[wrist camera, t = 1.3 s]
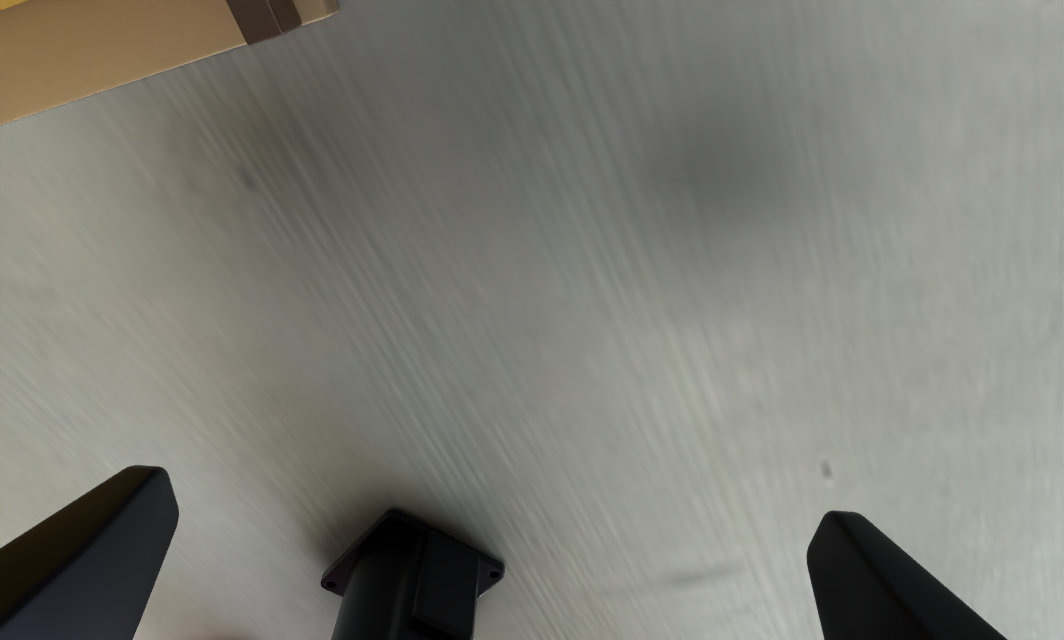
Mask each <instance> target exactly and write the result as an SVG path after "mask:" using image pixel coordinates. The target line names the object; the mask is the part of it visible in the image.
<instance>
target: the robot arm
mask: <svg viewBox="0 0 1064 640" xmlns="http://www.w3.org/2000/svg"><path fill="white" fill-rule="evenodd" d="M178 518H179V509H178V505H177V501H176V498H175V495H174V492H173V488H172V485H171V482H170V478H169V475H168V473H167V471H166V470H165V469H164V468H162V467H157V466H142V465H134V466H130V467H127V468H125V469H123V470H122V471H120V472H119V473H117V474H116V475H114V476H112V477H111V478H109V479H108V480H106V481H105V482H103V483H101V484H100V485H98V486H97V487H95V488H94V489H92V490H91V491H89V492H87V493H86V494H84V495H83V496H81V497H80V498H78V499H77V500H75V501H73V502H72V503H70V504H69V505H67V506H66V507H64V508H62V509H61V510H59V511H58V512H56V513H55V514H53V515H52V516H50V517H48V518H47V519H45V520H44V521H42V522H41V523H39V524H38V525H36V526H34V527H33V528H31V529H30V530H28V531H27V532H25V533H24V534H22V535H20V536H19V537H17V538H16V539H14V540H13V541H11V542H9V543H8V544H6V545H5V546H3V547H2V548H0V640H132V639H133V637H134V635H135V632H136V630H137V627H138V625H139V623H140V620H141V618H142V615H143V612H144V610H145V607H146V605H147V602H148V599H149V597H150V594H151V592H152V589H153V587H154V584H155V581H156V579H157V576H158V574H159V571H160V568H161V566H162V563H163V561H164V558H165V555H166V553H167V550H168V548H169V545H170V542H171V540H172V537H173V535H174V532H175V529H176V527H177V523H178ZM807 566H808V571H809V575H810V579H811V584H812V588H813V592H814V597H815V601H816V605H817V609H818V614H819V618H820V622H821V627H822V631H823V635H824V640H1007V639H1006V638H1005V637H1004V636H1002V635H1001V634H1000V633H999V632H998V631H997V630H995V629H994V628H993V627H992V626H991V625H990V624H988V623H987V622H986V621H985V620H984V619H983V618H981V617H980V616H979V615H978V614H977V613H976V612H974V611H973V610H972V609H971V608H970V607H969V606H967V605H966V604H965V603H964V602H963V601H962V600H960V599H959V598H958V597H957V596H956V595H955V594H953V593H952V592H951V591H950V590H949V589H948V588H947V587H945V586H944V585H943V584H942V583H941V582H940V581H938V580H937V579H936V578H935V577H934V576H933V575H931V574H930V573H929V572H928V571H927V570H926V569H924V568H923V567H922V566H921V565H920V564H919V563H917V562H916V561H915V560H914V559H913V558H912V557H910V556H909V555H908V554H907V553H906V552H905V551H903V550H902V549H901V548H900V547H899V546H898V545H896V544H895V543H894V542H893V541H892V540H891V539H889V538H888V537H887V536H886V535H885V534H884V533H882V532H881V531H880V530H879V529H878V528H877V527H875V526H874V525H873V524H872V523H871V522H870V521H868V520H867V519H866V518H865V517H864V516H862V515H861V514H859V513H856V512H847V511H829V512H828V513H826V514H825V515H824V516H823V518H822V520H821V522H820V524H819V526H818V528H817V530H816V532H815V534H814V536H813V538H812V540H811V542H810V544H809V547H808V550H807ZM504 574H505V566H504V564H503V563H502V562H500V561H498V560H496V559H494V558H492V557H490V556H488V555H486V554H485V553H483V552H481V551H479V550H477V549H475V548H473V547H471V546H469V545H467V544H465V543H463V542H461V541H459V540H457V539H455V538H453V537H451V536H449V535H447V534H445V533H443V532H441V531H439V530H437V529H436V528H434V527H432V526H430V525H428V524H426V523H424V522H422V521H420V520H418V519H416V518H414V517H412V516H410V515H408V514H406V513H404V512H402V511H400V510H389V511H387V512H386V513H385V514H384V515H383V516H381V517H380V518H379V519H378V520H377V521H376V522H375V523H374V524H373V525H372V526H371V527H370V528H369V529H368V530H367V531H366V532H365V533H364V534H363V535H362V536H361V537H360V538H359V539H358V540H357V541H356V542H355V543H354V544H353V545H352V546H351V547H350V548H349V549H348V550H347V551H346V552H345V553H344V554H343V555H342V556H341V557H340V558H339V559H338V560H337V561H336V562H335V563H334V564H333V565H332V566H331V567H330V568H329V569H328V570H327V571H326V572H325V573H324V574H323V576H322V579H321V586H322V587H323V588H324V589H326V590H328V591H331V592H333V593H335V594H337V595H340V596H342V597H343V599H342V602H341V606H340V610H339V613H338V617H337V620H336V624H335V627H334V631H333V634H332V638H331V640H473V637H474V625H475V614H476V602H477V598H478V597H480V596H481V595H482V594H484V593H485V592H486V591H487V590H489V589H490V588H491V587H492V586H494V585H495V584H496V583H498V582H499V581H500V580H501V579H503V577H504Z"/></svg>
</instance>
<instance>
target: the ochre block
mask: <svg viewBox="0 0 1064 640" xmlns="http://www.w3.org/2000/svg"><path fill="white" fill-rule="evenodd" d="M25 1H28V0H0V10H3V9H6V8H8V7H11V6H14V5H17V4H19V3H22V2H25Z"/></svg>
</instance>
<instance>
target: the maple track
mask: <svg viewBox="0 0 1064 640" xmlns="http://www.w3.org/2000/svg"><path fill="white" fill-rule="evenodd" d="M338 12H339V7H338V4H337V2H336V0H28V1H25V2H22V3H19V4H17V5H14V6H11V7H8V8H6V9H3V10H0V125H3V124H6V123H9V122H12V121H15V120H18V119H21V118H24V117H27V116H30V115H33V114H36V113H39V112H42V111H45V110H48V109H51V108H54V107H57V106H60V105H63V104H67V103H70V102H73V101H76V100H79V99H82V98H85V97H88V96H91V95H94V94H97V93H100V92H103V91H106V90H109V89H112V88H115V87H118V86H121V85H124V84H127V83H130V82H133V81H136V80H139V79H142V78H145V77H148V76H152V75H155V74H158V73H161V72H164V71H167V70H170V69H173V68H176V67H179V66H182V65H185V64H188V63H191V62H194V61H197V60H200V59H203V58H206V57H209V56H212V55H215V54H218V53H221V52H224V51H227V50H230V49H234V48H237V47H240V46H243V45H246V44H248V45H253V44H256V43H259V42H262V41H265V40H268V39H271V38H274V37H277V36H280V35H283V34H285V33H288V32H290V31H292V30H294V29H296V28H299V27H301V26H303V25H306V24H309V23H312V22H315V21H319V20H322V19H325V18H328V17H330V16H332V15H334V14H336V13H338Z"/></svg>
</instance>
